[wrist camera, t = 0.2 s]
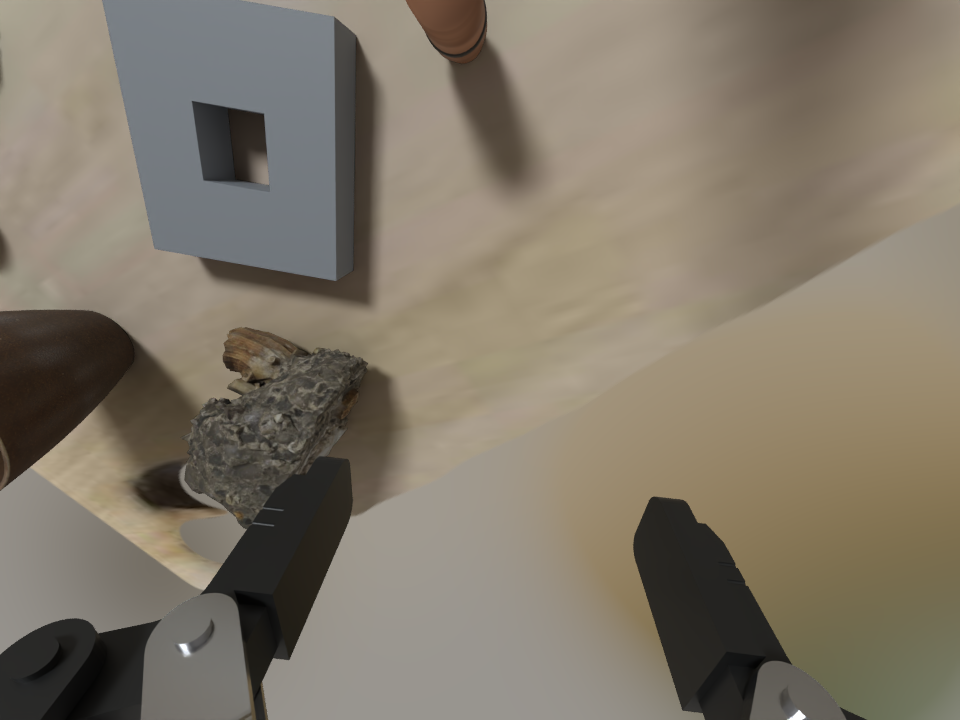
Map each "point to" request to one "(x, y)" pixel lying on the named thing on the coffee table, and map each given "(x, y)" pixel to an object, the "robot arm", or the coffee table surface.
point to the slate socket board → (206, 133)
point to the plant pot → (53, 378)
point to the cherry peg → (453, 26)
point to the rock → (269, 419)
